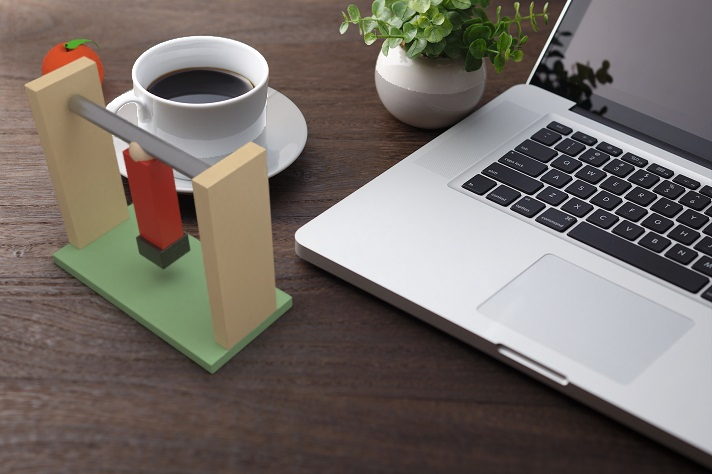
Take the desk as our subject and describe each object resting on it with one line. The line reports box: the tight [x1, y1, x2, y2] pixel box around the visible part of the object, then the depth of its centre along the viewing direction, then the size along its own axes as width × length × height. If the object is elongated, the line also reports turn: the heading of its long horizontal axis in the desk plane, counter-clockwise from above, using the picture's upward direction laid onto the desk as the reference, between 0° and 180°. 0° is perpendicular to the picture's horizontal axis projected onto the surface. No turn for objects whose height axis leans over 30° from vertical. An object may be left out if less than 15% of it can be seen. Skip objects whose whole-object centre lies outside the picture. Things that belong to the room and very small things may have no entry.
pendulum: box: [68, 94, 213, 270], centre depth 69 cm, size 17×3×13 cm, turn 52°
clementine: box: [40, 38, 105, 87], centre depth 96 cm, size 8×7×7 cm
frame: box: [23, 57, 293, 375], centre depth 69 cm, size 21×10×18 cm, turn 52°
